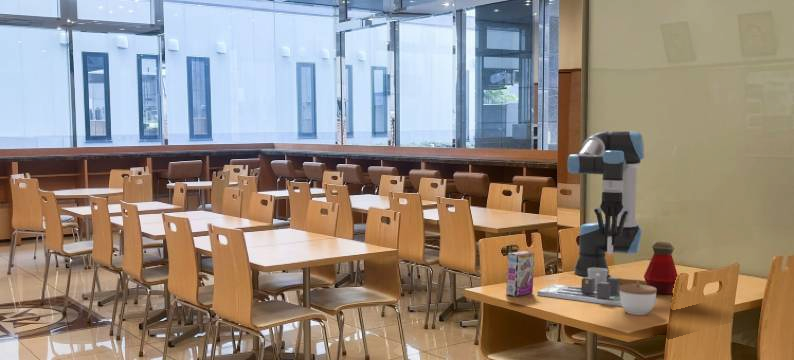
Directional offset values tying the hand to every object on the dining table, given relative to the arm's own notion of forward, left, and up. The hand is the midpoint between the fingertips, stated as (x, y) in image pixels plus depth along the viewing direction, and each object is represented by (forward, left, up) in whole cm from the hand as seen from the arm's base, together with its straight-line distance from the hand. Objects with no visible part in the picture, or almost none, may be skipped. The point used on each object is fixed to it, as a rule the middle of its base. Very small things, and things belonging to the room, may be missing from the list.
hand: (609, 253), depth 296 cm
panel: (0, -8, -18) cm, 19 cm away
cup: (-18, -10, -18) cm, 27 cm away
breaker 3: (-6, 0, -16) cm, 17 cm away
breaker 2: (+6, 0, -16) cm, 17 cm away
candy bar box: (+12, -31, -18) cm, 38 cm away
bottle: (-27, +13, -18) cm, 35 cm away
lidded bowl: (+16, +15, -18) cm, 28 cm away
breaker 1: (0, -8, -16) cm, 18 cm away
